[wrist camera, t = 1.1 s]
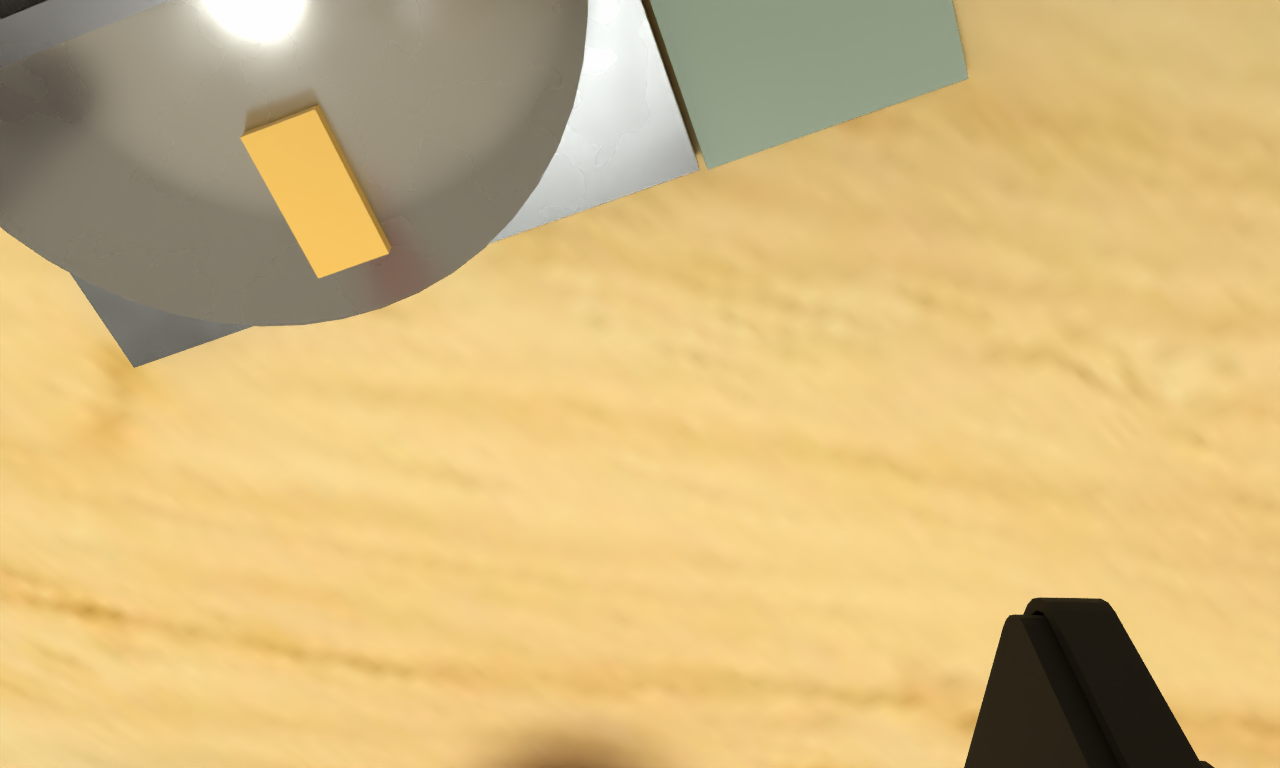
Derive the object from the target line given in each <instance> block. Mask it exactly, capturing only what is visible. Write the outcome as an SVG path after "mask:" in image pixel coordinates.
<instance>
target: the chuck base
mask: <svg viewBox="0 0 1280 768" xmlns="http://www.w3.org/2000/svg"><path fill="white" fill-rule="evenodd" d="M698 170H699V166H698V161H697V157H696V154H695V151H694V148H693V145H692V142H691V139H690V136H689V133H688V130H687V128H686V125H685V122H684V119H683V116H682V113H681V110H680V107H679V104H678V101H677V99H676V96H675V93H674V90H673V87H672V84H671V81H670V78H669V75H668V73H667V70H666V67H665V64H664V61H663V58H662V55H661V52H660V49H659V47H658V44H657V41H656V38H655V35H654V32H653V29H652V26H651V23H650V21H649V18H648V15H647V12H646V9H645V6H644V3H643V0H588V19H587V30H586V41H585V51H584V62H583V67H582V71H581V75H580V80H579V84H578V89H577V93H576V97H575V102H574V106H573V109H572V112H571V114H570V117H569V120H568V122H567V125H566V128H565V130H564V133H563V136H562V138H561V141H560V144H559V146H558V149H557V150H556V152H555V154H554V156H553V158H552V160H551V162H550V163H549V165H548V167H547V169H546V171H545V173H544V175H543V176H542V178H541V180H540V182H539V184H538V186H537V187H536V188H535V190H534V191H533V192H532V194H531V195H530V196H529V198H528V199H527V201H526V202H525V203H524V205H523V206H522V207H521V209H520V210H519V211H518V213H517V214H516V216H515V217H514V218H513V219H512V220H511V221H510V222H509V223H508V224H507V226H506V227H505V228H504V229H503V230H502V231H501V232H500V233H499V234H498V235H497V236H496V237H495V238H494V239H493V240H492V241H491V242H490V243H492V242H495V241H498V240H501V239H504V238H507V237H509V236H512V235H515V234H518V233H521V232H524V231H527V230H529V229H532V228H535V227H538V226H541V225H544V224H547V223H549V222H552V221H555V220H558V219H561V218H564V217H567V216H569V215H572V214H575V213H578V212H581V211H584V210H587V209H589V208H592V207H595V206H598V205H601V204H604V203H607V202H609V201H612V200H615V199H618V198H621V197H624V196H627V195H629V194H632V193H635V192H638V191H641V190H644V189H647V188H649V187H652V186H655V185H658V184H661V183H664V182H667V181H669V180H672V179H675V178H678V177H681V176H684V175H687V174H689V173H692V172H695V171H698ZM70 274H71V275H72V277H73V278H74V280H75V281H76V282H77V284H78V285H79V287H80V288H81V290H82V291H83V293H84V294H85V296H86V297H87V299H88V300H89V302H90V303H91V305H92V306H93V308H94V309H95V311H96V312H97V314H98V315H99V317H100V318H101V319H102V321H103V322H104V324H105V325H106V327H107V328H108V330H109V331H110V333H111V334H112V336H113V337H114V339H115V340H116V342H117V343H118V345H119V346H120V348H121V349H122V351H123V352H124V354H125V355H126V356H127V358H128V359H129V361H130V362H131V364H132V365H133V367H134V368H135V367H138V366H141V365H144V364H146V363H149V362H152V361H155V360H158V359H161V358H164V357H166V356H169V355H172V354H175V353H178V352H181V351H184V350H186V349H189V348H192V347H195V346H198V345H201V344H204V343H206V342H209V341H212V340H215V339H218V338H221V337H224V336H226V335H229V334H232V333H235V332H238V331H241V330H244V329H246V328H249V327H252V326H251V325H239V324H227V323H216V322H211V321H206V320H201V319H196V318H191V317H186V316H181V315H175V314H172V313H169V312H165V311H162V310H159V309H156V308H152V307H149V306H146V305H143V304H139V303H136V302H133V301H130V300H128V299H125V298H123V297H121V296H118V295H116V294H114V293H111V292H109V291H106V290H104V289H102V288H99V287H97V286H95V285H92V284H90V283H88V282H86V281H84V280H82V279H81V278H79V277H77V276H75V275H73V274H72V273H70Z"/></svg>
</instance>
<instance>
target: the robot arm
mask: <svg viewBox="0 0 1280 768" xmlns="http://www.w3.org/2000/svg"><path fill="white" fill-rule="evenodd" d="M964 768H1214V767H1213V766H1211V765H1210V764H1209V763H1207V762H1206V761H1199V759H1198V757H1197V756H1196V754H1195V752H1194V750H1193V749H1192V747H1191V745H1190V743H1189V742H1188V740H1187V738H1186V736H1185V734H1184V733H1183V731H1182V729H1181V727H1180V726H1179V724H1178V722H1177V720H1176V719H1175V717H1174V715H1173V713H1172V712H1171V710H1170V708H1169V706H1168V704H1167V703H1166V701H1165V699H1164V697H1163V696H1162V694H1161V692H1160V690H1159V689H1158V687H1157V685H1156V683H1155V681H1154V680H1153V678H1152V676H1151V674H1150V673H1149V671H1148V669H1147V667H1146V666H1145V664H1144V662H1143V660H1142V659H1141V657H1140V655H1139V653H1138V651H1137V650H1136V648H1135V646H1134V644H1133V643H1132V641H1131V639H1130V637H1129V636H1128V634H1127V632H1126V630H1125V629H1124V627H1123V625H1122V623H1121V621H1120V620H1119V618H1118V616H1117V614H1116V613H1115V611H1114V610H1113V608H1112V607H1111V606H1110V604H1109V603H1108V602H1106V601H1104V600H1102V599H1088V598H1034V599H1032V600H1031V601H1030V602H1029V603H1028V605H1027V607H1026V609H1025V612H1024V614H1023V615H1010V616H1009V617H1008V618H1007V619H1006V621H1005V624H1004V626H1003V630H1002V633H1001V637H1000V641H999V644H998V648H997V651H996V655H995V659H994V662H993V666H992V669H991V673H990V677H989V680H988V684H987V687H986V691H985V695H984V698H983V702H982V705H981V709H980V713H979V716H978V720H977V723H976V727H975V731H974V734H973V738H972V741H971V745H970V749H969V752H968V756H967V759H966V763H965V767H964Z"/></svg>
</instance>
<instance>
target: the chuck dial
mask: <svg viewBox="0 0 1280 768" xmlns="http://www.w3.org/2000/svg"><path fill="white" fill-rule="evenodd" d="M587 19H588V0H0V227H1V228H2V229H4V230H5V231H6V232H7V233H9V234H10V235H11V236H13V237H14V238H16V239H17V240H19V241H20V242H22V243H23V244H25V245H26V246H27V247H29V248H30V249H32V250H33V251H35V252H36V253H38V254H39V255H40V256H42V257H43V258H45V259H46V260H48V261H50V262H52V263H53V264H55V265H57V266H59V267H61V268H62V269H64V270H66V271H68V272H70V273H72V274H73V275H75V276H77V277H79V278H81V279H82V280H84V281H86V282H88V283H90V284H92V285H95V286H97V287H99V288H102V289H104V290H106V291H109V292H111V293H114V294H116V295H118V296H121V297H123V298H125V299H128V300H130V301H133V302H136V303H139V304H143V305H146V306H149V307H152V308H156V309H159V310H162V311H165V312H169V313H172V314H175V315H181V316H186V317H191V318H196V319H201V320H206V321H211V322H216V323H227V324H239V325H251V326H285V325H305V324H312V323H319V322H325V321H332V320H339V319H344V318H348V317H351V316H355V315H359V314H362V313H366V312H369V311H373V310H377V309H380V308H383V307H386V306H388V305H390V304H393V303H395V302H397V301H400V300H402V299H405V298H407V297H409V296H412V295H414V294H417V293H419V292H421V291H422V290H424V289H426V288H427V287H429V286H431V285H433V284H434V283H436V282H438V281H439V280H441V279H443V278H445V277H446V276H448V275H450V274H451V273H453V272H454V271H456V270H457V269H458V268H460V267H461V266H462V265H463V264H465V263H466V262H467V261H469V260H470V259H471V258H472V257H474V256H475V255H476V254H478V253H479V252H480V251H481V250H483V249H484V248H485V247H486V246H487V245H488V244H489V243H490V242H491V241H492V240H493V239H494V238H495V237H496V236H497V235H498V234H499V233H500V232H501V231H502V230H503V229H504V228H505V227H506V226H507V224H508V223H509V222H510V221H511V220H512V219H513V218H514V217H515V216H516V214H517V213H518V211H519V210H520V209H521V207H522V206H523V205H524V203H525V202H526V201H527V199H528V198H529V196H530V195H531V194H532V192H533V191H534V190H535V188H536V187H537V186H538V184H539V182H540V180H541V178H542V176H543V175H544V173H545V171H546V169H547V167H548V165H549V163H550V162H551V160H552V158H553V156H554V154H555V152H556V150H557V149H558V146H559V144H560V141H561V138H562V136H563V133H564V130H565V128H566V125H567V122H568V120H569V117H570V114H571V112H572V109H573V106H574V102H575V97H576V93H577V89H578V84H579V80H580V75H581V71H582V67H583V62H584V51H585V41H586V30H587Z"/></svg>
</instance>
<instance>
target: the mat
mask: <svg viewBox="0 0 1280 768" xmlns="http://www.w3.org/2000/svg"><path fill="white" fill-rule="evenodd" d="M650 3H651V6H652V9H653V12H654V14H655V17H656V20H657V23H658V26H659V29H660V32H661V35H662V38H663V41H664V44H665V47H666V49H667V52H668V55H669V58H670V61H671V64H672V67H673V70H674V73H675V76H676V79H677V82H678V84H679V87H680V90H681V93H682V96H683V99H684V102H685V105H686V108H687V111H688V114H689V117H690V120H691V122H692V125H693V128H694V131H695V134H696V137H697V140H698V143H699V146H700V149H701V152H702V155H703V157H704V160H705V163H706V166H707V169H711V168H714V167H717V166H720V165H722V164H725V163H728V162H731V161H734V160H737V159H740V158H742V157H745V156H748V155H751V154H754V153H757V152H760V151H762V150H765V149H768V148H771V147H774V146H777V145H780V144H782V143H785V142H788V141H791V140H794V139H797V138H800V137H803V136H805V135H808V134H811V133H814V132H817V131H820V130H823V129H825V128H828V127H831V126H834V125H837V124H840V123H843V122H845V121H848V120H851V119H854V118H857V117H860V116H863V115H865V114H868V113H871V112H874V111H877V110H880V109H883V108H885V107H888V106H891V105H894V104H897V103H900V102H903V101H905V100H908V99H911V98H914V97H917V96H920V95H923V94H926V93H928V92H931V91H934V90H937V89H940V88H943V87H946V86H948V85H951V84H954V83H957V82H960V81H963V80H966V79H968V73H967V68H966V64H965V59H964V54H963V49H962V45H961V40H960V35H959V30H958V26H957V21H956V16H955V11H954V7H953V2H952V0H650Z"/></svg>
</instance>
